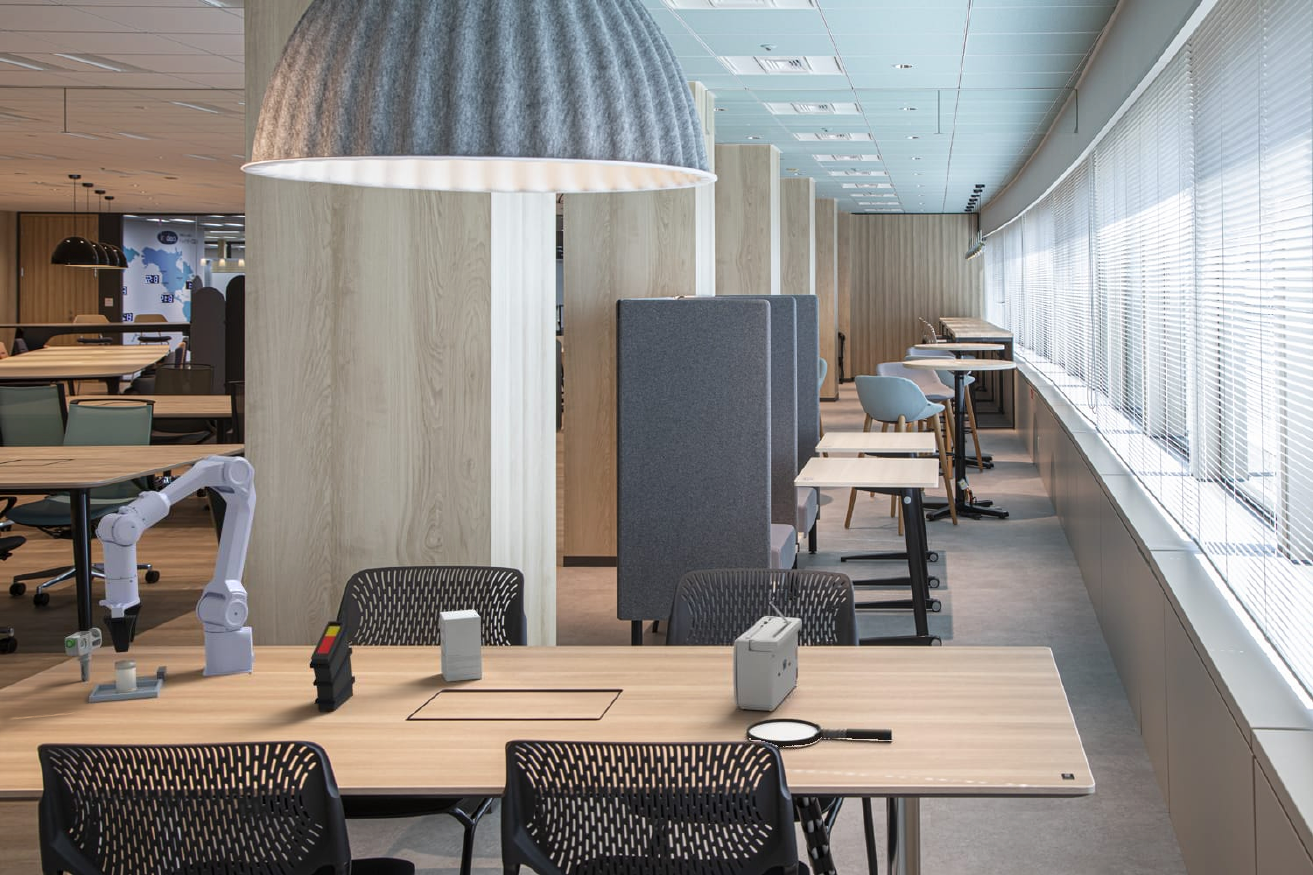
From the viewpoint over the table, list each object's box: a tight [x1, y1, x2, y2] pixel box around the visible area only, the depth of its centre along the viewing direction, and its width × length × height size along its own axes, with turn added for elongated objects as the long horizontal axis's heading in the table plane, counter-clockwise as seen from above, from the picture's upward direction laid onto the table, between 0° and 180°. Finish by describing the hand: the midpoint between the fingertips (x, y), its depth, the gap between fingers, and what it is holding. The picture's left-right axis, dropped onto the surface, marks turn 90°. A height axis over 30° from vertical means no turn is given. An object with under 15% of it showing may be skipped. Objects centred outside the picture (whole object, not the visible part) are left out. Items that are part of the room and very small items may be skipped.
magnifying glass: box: [746, 718, 893, 749], centre depth 214 cm, size 12×24×2 cm, turn 80°
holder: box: [136, 665, 169, 682], centre depth 255 cm, size 8×5×2 cm, turn 105°
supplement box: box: [439, 609, 483, 683], centre depth 255 cm, size 7×7×13 cm
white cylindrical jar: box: [114, 659, 137, 694], centre depth 245 cm, size 4×4×6 cm
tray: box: [88, 679, 164, 704], centre depth 245 cm, size 12×9×2 cm
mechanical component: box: [64, 627, 103, 682], centre depth 255 cm, size 3×10×10 cm, turn 174°
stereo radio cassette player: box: [732, 601, 803, 712], centre depth 237 cm, size 21×8×20 cm, turn 160°
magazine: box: [309, 620, 356, 712], centre depth 237 cm, size 4×13×15 cm, turn 174°
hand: (124, 647), depth 244 cm, fingers open, 7 cm apart
